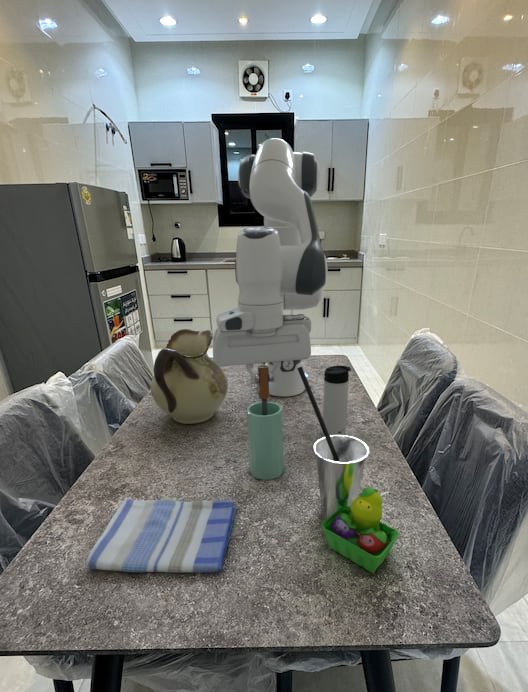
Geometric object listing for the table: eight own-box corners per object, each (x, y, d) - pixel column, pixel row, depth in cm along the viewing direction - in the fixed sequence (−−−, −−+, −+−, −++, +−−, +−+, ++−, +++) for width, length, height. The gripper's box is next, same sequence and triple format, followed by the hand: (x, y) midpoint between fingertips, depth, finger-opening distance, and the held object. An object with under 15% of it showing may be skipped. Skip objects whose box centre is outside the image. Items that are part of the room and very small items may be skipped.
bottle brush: (256, 449, 90) (252, 364, 82) (272, 447, 91) (270, 363, 82) (259, 458, 86) (255, 370, 78) (276, 456, 87) (274, 368, 79)
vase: (247, 463, 93) (244, 403, 87) (279, 459, 95) (277, 399, 88) (253, 481, 86) (249, 418, 80) (286, 476, 88) (286, 414, 81)
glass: (296, 505, 79) (296, 366, 67) (344, 492, 82) (352, 358, 70) (321, 541, 69) (325, 387, 57) (373, 524, 73) (388, 376, 61)
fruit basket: (318, 547, 68) (319, 495, 63) (345, 521, 74) (349, 472, 69) (375, 583, 61) (381, 527, 56) (401, 551, 67) (408, 498, 62)
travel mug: (345, 443, 101) (350, 372, 93) (321, 441, 102) (323, 370, 94) (347, 432, 107) (351, 364, 99) (323, 430, 108) (325, 362, 100)
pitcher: (217, 396, 132) (211, 324, 122) (241, 424, 112) (236, 341, 102) (150, 409, 123) (137, 332, 113) (163, 441, 104) (149, 352, 94)
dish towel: (125, 505, 80) (123, 494, 78) (238, 507, 78) (237, 496, 77) (82, 573, 64) (78, 560, 63) (222, 578, 62) (220, 565, 61)
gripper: (306, 310, 81) (306, 372, 86) (209, 316, 77) (214, 381, 82) (316, 316, 75) (314, 382, 81) (211, 323, 71) (217, 391, 77)
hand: (263, 381), depth 82 cm, fingers closed on bottle brush, 2 cm apart
